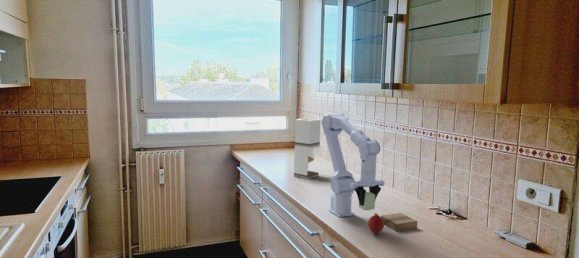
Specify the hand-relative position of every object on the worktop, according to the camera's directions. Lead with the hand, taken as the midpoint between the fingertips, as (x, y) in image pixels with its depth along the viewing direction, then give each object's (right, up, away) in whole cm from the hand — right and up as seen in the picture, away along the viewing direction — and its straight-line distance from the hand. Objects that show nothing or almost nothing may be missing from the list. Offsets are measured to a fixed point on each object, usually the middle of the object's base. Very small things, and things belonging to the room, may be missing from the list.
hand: (366, 204), depth 150 cm
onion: (+2, -10, -8) cm, 12 cm away
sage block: (0, -1, 0) cm, 1 cm away
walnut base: (+13, -9, +1) cm, 16 cm away
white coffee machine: (-20, +1, +82) cm, 85 cm away
